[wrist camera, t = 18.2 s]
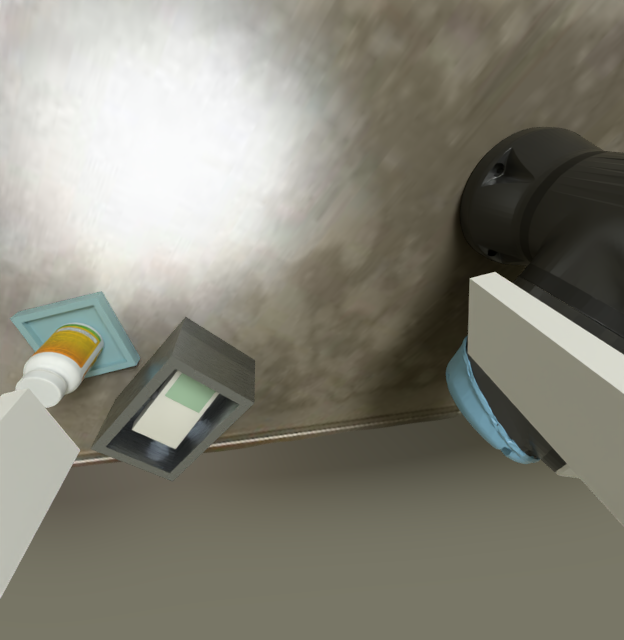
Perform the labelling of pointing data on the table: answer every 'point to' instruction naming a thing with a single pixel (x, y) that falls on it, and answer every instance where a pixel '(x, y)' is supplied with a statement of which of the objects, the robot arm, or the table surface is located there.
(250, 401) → the guard box
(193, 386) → the block
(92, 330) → the supplement bottle
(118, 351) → the tray
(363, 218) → the table surface
